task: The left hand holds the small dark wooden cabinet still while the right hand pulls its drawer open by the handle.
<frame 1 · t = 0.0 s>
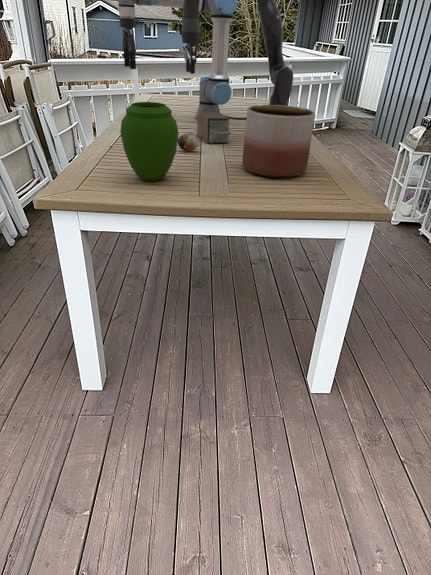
left hand: (130, 67, 208), 28 cm above the table, tool pointing down, fingers open, 13 cm apart
right hand: (190, 72, 186), 29 cm above the table, tool pointing down, fingers open, 8 cm apart
drawer: (215, 129, 197), point 6 cm above the table, slide at 0.7 cm
cabinet: (211, 139, 204), on the table
vase: (151, 178, 146), on the table
seashell: (188, 151, 181), on the table
planter: (273, 170, 162), on the table
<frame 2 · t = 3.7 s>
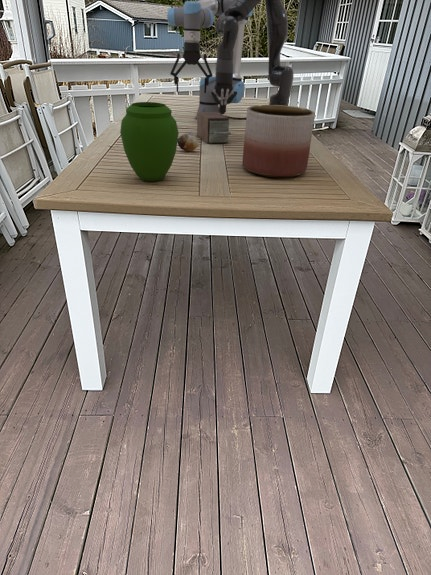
left hand: (191, 92, 201), 20 cm above the table, tool pointing down, fingers open, 13 cm apart
right hand: (222, 113, 186), 14 cm above the table, tool pointing down, fingers closed
nothing on the table moved.
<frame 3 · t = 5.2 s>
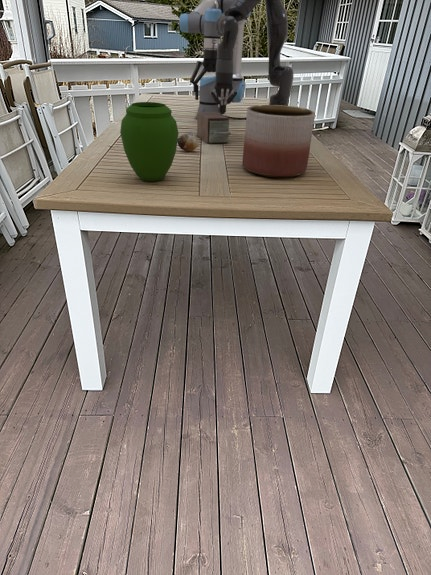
left hand: (210, 99, 199), 17 cm above the table, tool pointing down, fingers open, 13 cm apart
right hand: (222, 113, 186), 14 cm above the table, tool pointing down, fingers closed
nothing on the table moved.
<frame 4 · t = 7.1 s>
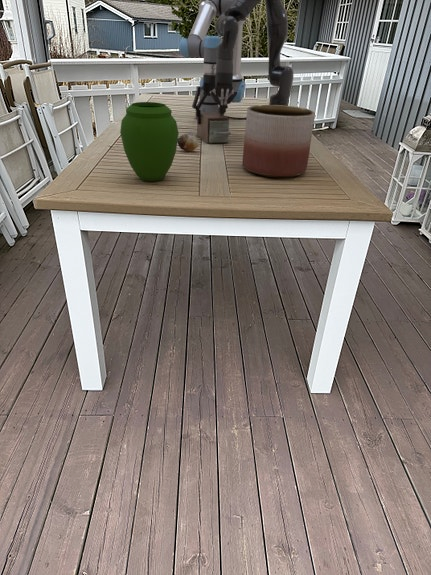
left hand: (209, 123, 205), 6 cm above the table, tool pointing down, fingers closed on cabinet, 10 cm apart
right hand: (222, 113, 186), 14 cm above the table, tool pointing down, fingers closed
cabinet: (211, 139, 204), on the table, touching left hand
everything else where it was.
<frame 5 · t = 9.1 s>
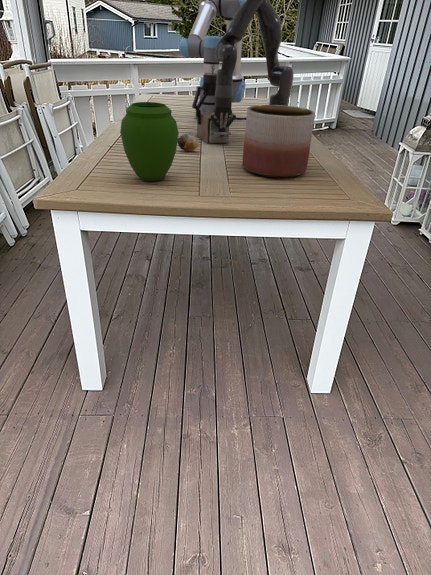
left hand: (209, 123, 205), 6 cm above the table, tool pointing down, fingers closed on cabinet, 10 cm apart
right hand: (221, 136, 191), 4 cm above the table, tool pointing down, fingers closed
drawer: (216, 129, 197), point 6 cm above the table, slide at 1.2 cm, touching right hand
cabinet: (211, 139, 204), on the table, touching left hand
everything else where it was.
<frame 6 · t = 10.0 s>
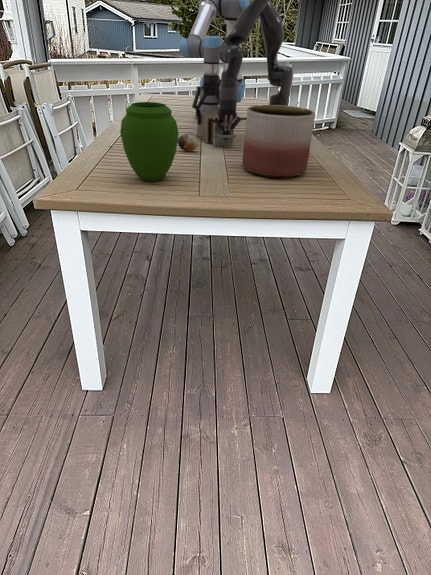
left hand: (209, 123, 205), 6 cm above the table, tool pointing down, fingers closed on cabinet, 10 cm apart
right hand: (225, 139, 186), 4 cm above the table, tool pointing down, fingers closed
drawer: (220, 132, 192), point 6 cm above the table, slide at 7.1 cm, touching right hand
cabinet: (211, 139, 204), on the table, touching left hand
everything else where it was.
when the left hand's fingers open (6 cm above the table, at t = 12.2 s): cabinet stays where it is, on the table.
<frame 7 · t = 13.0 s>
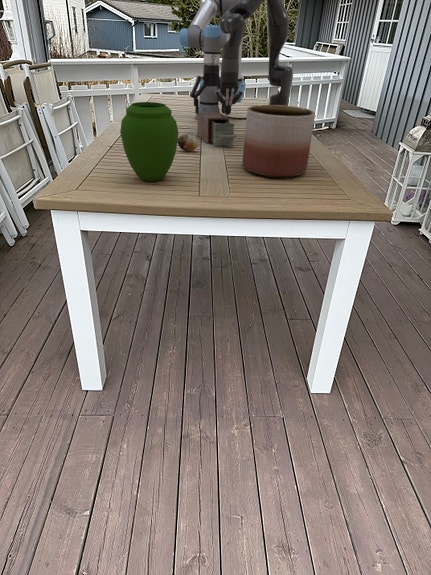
left hand: (210, 113, 202), 11 cm above the table, tool pointing down, fingers open, 13 cm apart
right hand: (227, 114, 181), 15 cm above the table, tool pointing down, fingers closed
drawer: (220, 132, 192), point 6 cm above the table, slide at 7.2 cm
cabinet: (212, 139, 204), on the table
everything else where it was.
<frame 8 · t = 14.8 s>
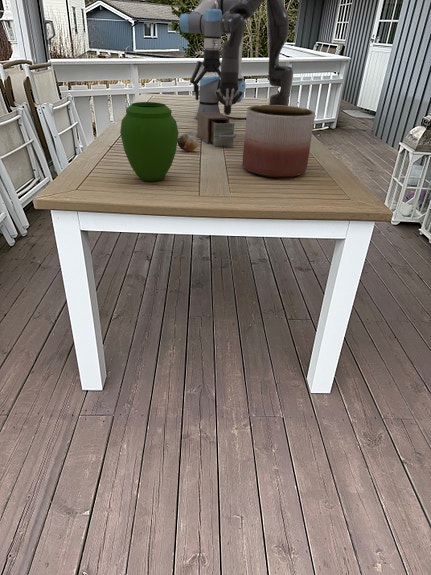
left hand: (210, 100, 199), 17 cm above the table, tool pointing down, fingers open, 13 cm apart
right hand: (227, 114, 181), 15 cm above the table, tool pointing down, fingers closed
nothing on the table moved.
at the end: drawer slide at 7.2 cm; cabinet tilted 0°; cabinet never tilted more than 1° during the clip; cabinet moved 0.1 cm from its start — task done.
